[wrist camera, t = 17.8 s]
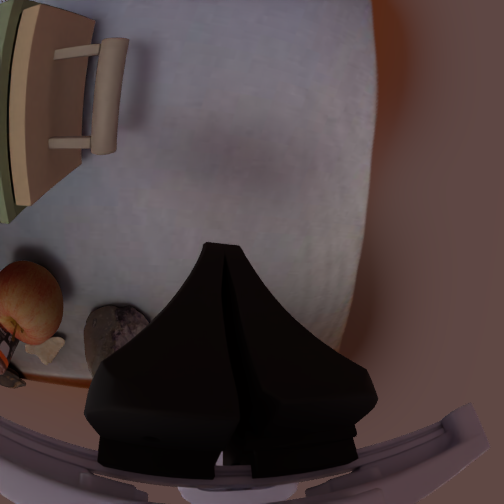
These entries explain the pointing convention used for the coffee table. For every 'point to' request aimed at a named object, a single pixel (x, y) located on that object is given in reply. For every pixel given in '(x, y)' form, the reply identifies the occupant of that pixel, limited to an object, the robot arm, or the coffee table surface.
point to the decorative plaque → (11, 379)
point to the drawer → (58, 98)
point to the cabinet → (3, 32)
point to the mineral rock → (110, 332)
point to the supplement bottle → (6, 348)
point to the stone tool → (46, 349)
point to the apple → (30, 302)
